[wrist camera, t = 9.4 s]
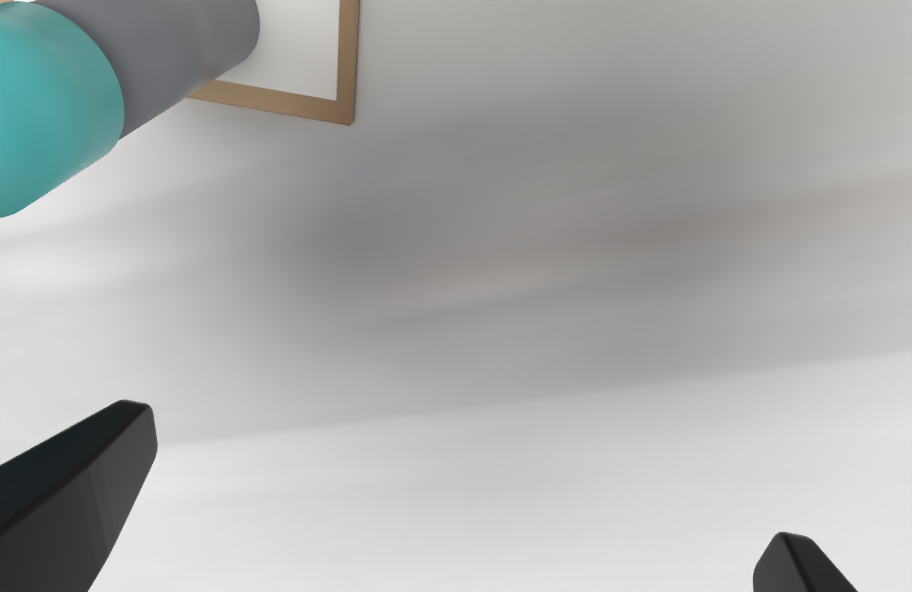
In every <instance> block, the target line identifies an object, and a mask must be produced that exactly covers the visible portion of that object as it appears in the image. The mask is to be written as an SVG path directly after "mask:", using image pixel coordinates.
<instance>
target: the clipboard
mask: <svg viewBox="0 0 912 592" xmlns="http://www.w3.org/2000/svg"><path fill="white" fill-rule="evenodd" d="M9 1H22V2H31V1H35V0H0V3H3V2H9ZM255 2H256V5H257V8H258V12H259V18H260V32H259V38H258V41H257V44H256V46H255V48H254V50H253V51H252V53H251V54H250V55H249V56H248V57H247V58H246V59H245V60H244V61H242V62H241V63H239V64H238V65H236V66H235V67H233V68H231V69H230V70H228V71H227V72H225V73H224V74H222V75H220V76H219V77H217V78H216V79H214V80H213V81H211V82H209V83H208V84H206V85H205V86H203V87H202V88H200V89H198V90H197V91H195V92H194V93H192V94H191V95H189V96H187V97H188V98H194V99H200V100H206V101H211V102H217V103H223V104H228V105H234V106H240V107H246V108H251V109H257V110H263V111H268V112H274V113H280V114H286V115H291V116H297V117H303V118H308V119H314V120H320V121H326V122H331V123H337V124H343V125H348V126H350V125H351V123H352V122H353V116H354V96H355V76H356V55H357V35H358V15H359V0H255Z"/></svg>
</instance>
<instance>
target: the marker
mask: <svg viewBox="0 0 912 592" xmlns="http://www.w3.org/2000/svg"><path fill="white" fill-rule="evenodd" d="M259 32H260V18H259V12H258V8H257V5H256V2H255V0H35V1H31V2H22V1H9V2H3V3H0V218H1V217H6V216H9V215H12V214H15V213H16V212H18V211H20V210H22V209H24V208H25V207H27V206H28V205H30V204H31V203H33V202H34V201H36V200H37V199H39V198H40V197H42V196H44V195H45V194H47V193H48V192H50V191H51V190H53V189H54V188H56V187H57V186H59V185H60V184H62V183H64V182H65V181H67V180H68V179H70V178H71V177H73V176H74V175H76V174H77V173H79V172H80V171H82V170H84V169H85V168H87V167H88V166H90V165H91V164H93V163H94V162H96V161H97V160H99V159H100V158H102V157H103V156H105V155H106V154H107V153H109V152H110V151H111V149H112V148H113V147H114V146H115V145H116V143H117V141H118V140H120V139H121V138H123V137H124V136H126V135H128V134H129V133H131V132H132V131H134V130H135V129H137V128H139V127H140V126H142V125H143V124H145V123H147V122H148V121H150V120H151V119H153V118H154V117H156V116H158V115H159V114H161V113H162V112H164V111H165V110H167V109H169V108H170V107H172V106H173V105H175V104H176V103H178V102H180V101H181V100H183V99H184V98H186V97H187V96H189V95H191V94H192V93H194V92H195V91H197V90H198V89H200V88H202V87H203V86H205V85H206V84H208V83H209V82H211V81H213V80H214V79H216V78H217V77H219V76H220V75H222V74H224V73H225V72H227V71H228V70H230V69H231V68H233V67H235V66H236V65H238V64H239V63H241V62H242V61H244V60H245V59H246V58H247V57H248V56H249V55H250V54H251V53H252V51H253V50H254V48H255V46H256V44H257V41H258V38H259Z"/></svg>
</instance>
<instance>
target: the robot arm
mask: <svg viewBox="0 0 912 592" xmlns="http://www.w3.org/2000/svg"><path fill="white" fill-rule="evenodd" d="M157 447H158V444H157V436H156V429H155V422H154V415H153V410H152V408H151V407H150V406H149V405H148V404H146V403H141V402H136V401H131V400H120V401H117V402H115V403H113V404H111V405H109V406H107V407H106V408H104V409H102V410H100V411H98V412H97V413H95V414H93V415H91V416H89V417H87V418H86V419H84V420H82V421H80V422H78V423H76V424H75V425H73V426H71V427H69V428H67V429H65V430H64V431H62V432H60V433H58V434H56V435H54V436H53V437H51V438H49V439H47V440H45V441H43V442H42V443H40V444H38V445H36V446H34V447H32V448H31V449H29V450H27V451H25V452H23V453H22V454H20V455H18V456H16V457H14V458H12V459H11V460H9V461H7V462H5V463H3V464H1V465H0V592H88V590H89V589H90V587H91V585H92V584H93V582H94V580H95V579H96V577H97V575H98V574H99V572H100V570H101V569H102V567H103V565H104V564H105V562H106V560H107V558H108V557H109V555H110V553H111V551H112V549H113V547H114V545H115V543H116V541H117V539H118V537H119V534H120V532H121V530H122V528H123V526H124V524H125V522H126V520H127V517H128V515H129V513H130V511H131V509H132V507H133V505H134V503H135V500H136V498H137V496H138V494H139V492H140V490H141V488H142V486H143V483H144V481H145V479H146V477H147V475H148V473H149V471H150V469H151V466H152V464H153V462H154V460H155V457H156V454H157ZM753 591H754V592H858V591H857V590H856V589H855V588H854V587H853V585H852V584H851V583H850V582H849V581H848V580H847V579H846V577H845V576H844V575H843V574H842V573H841V572H840V571H839V569H838V568H837V567H836V566H835V565H834V564H833V562H832V561H831V560H830V559H829V558H828V557H827V556H826V554H825V553H824V552H823V551H822V550H821V549H820V548H819V546H818V545H817V544H816V543H815V542H814V541H813V540H812V539H810V538H808V537H806V536H802V535H797V534H792V533H787V532H779V533H777V534H776V535H775V536H774V537H773V539H772V540H771V542H770V543H769V545H768V547H767V548H766V550H765V551H764V553H763V555H762V556H761V558H760V559H759V561H758V563H757V564H756V567H755V569H754V574H753Z"/></svg>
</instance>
